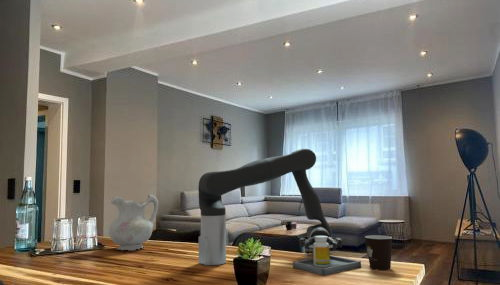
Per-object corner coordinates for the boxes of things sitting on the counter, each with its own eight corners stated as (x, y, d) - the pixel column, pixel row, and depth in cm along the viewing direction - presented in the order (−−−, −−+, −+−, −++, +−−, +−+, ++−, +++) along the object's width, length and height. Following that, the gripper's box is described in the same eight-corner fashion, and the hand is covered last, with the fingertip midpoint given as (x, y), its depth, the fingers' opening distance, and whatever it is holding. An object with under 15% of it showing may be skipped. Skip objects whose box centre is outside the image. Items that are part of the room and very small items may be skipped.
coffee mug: (396, 271, 114) (394, 239, 115) (368, 270, 115) (366, 238, 117) (389, 263, 125) (388, 234, 126) (364, 262, 127) (362, 234, 128)
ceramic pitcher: (147, 245, 180) (146, 195, 184) (165, 247, 165) (163, 192, 169) (103, 251, 166) (103, 197, 170) (118, 253, 151) (117, 194, 156)
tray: (323, 275, 111) (323, 269, 111) (293, 267, 122) (293, 261, 122) (361, 266, 121) (360, 261, 121) (329, 260, 132) (329, 255, 132)
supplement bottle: (310, 264, 122) (309, 235, 123) (324, 263, 124) (323, 234, 125) (319, 268, 117) (317, 237, 118) (333, 266, 119) (331, 236, 120)
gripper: (300, 228, 136) (299, 234, 121) (338, 228, 134) (342, 234, 118) (301, 248, 136) (299, 257, 120) (339, 249, 133) (343, 257, 117)
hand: (321, 245), depth 119 cm, fingers open, 8 cm apart
